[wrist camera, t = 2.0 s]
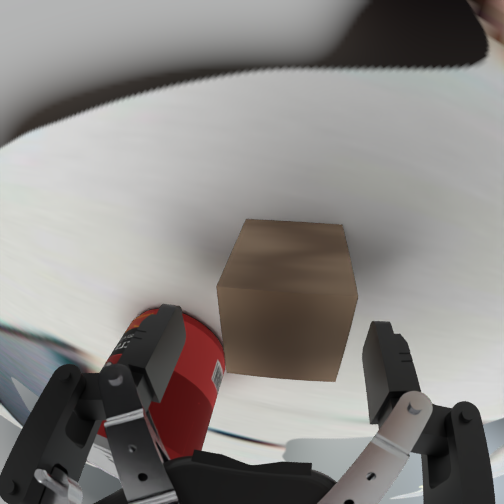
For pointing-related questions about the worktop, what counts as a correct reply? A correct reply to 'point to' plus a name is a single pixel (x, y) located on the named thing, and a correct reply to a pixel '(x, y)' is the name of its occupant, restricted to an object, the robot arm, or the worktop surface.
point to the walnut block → (287, 300)
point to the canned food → (176, 394)
